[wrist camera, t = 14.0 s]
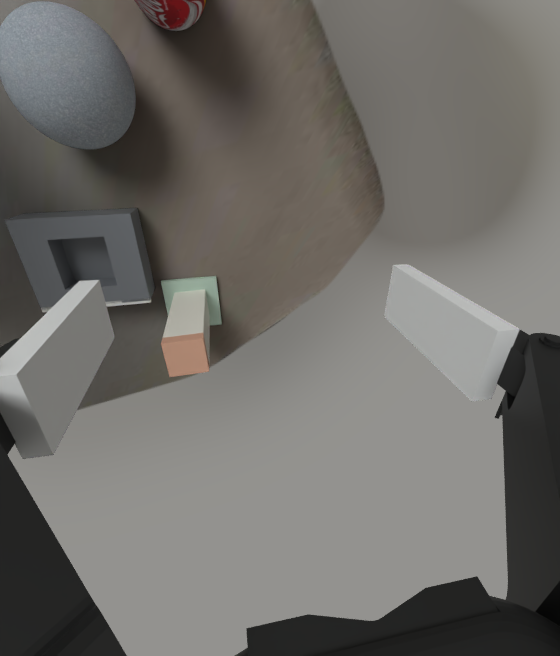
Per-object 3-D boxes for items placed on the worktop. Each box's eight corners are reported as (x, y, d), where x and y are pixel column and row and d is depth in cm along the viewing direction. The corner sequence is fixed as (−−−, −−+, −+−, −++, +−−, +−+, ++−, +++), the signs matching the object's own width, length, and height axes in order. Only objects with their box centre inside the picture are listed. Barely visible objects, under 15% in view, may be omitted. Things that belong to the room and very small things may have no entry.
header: (56, 298, 41) (42, 312, 38) (24, 213, 36) (4, 220, 33) (155, 290, 43) (150, 302, 40) (137, 207, 38) (130, 213, 35)
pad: (171, 327, 46) (170, 329, 45) (161, 280, 43) (160, 281, 42) (221, 322, 47) (221, 324, 46) (216, 275, 44) (216, 277, 43)
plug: (180, 319, 45) (169, 377, 34) (174, 292, 43) (161, 343, 32) (209, 315, 45) (209, 371, 34) (205, 289, 44) (203, 338, 32)
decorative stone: (77, 164, 35) (34, 169, 26) (6, 51, 30) (-76, 11, 21) (163, 127, 35) (147, 119, 26) (105, 7, 30) (62, -52, 21)
